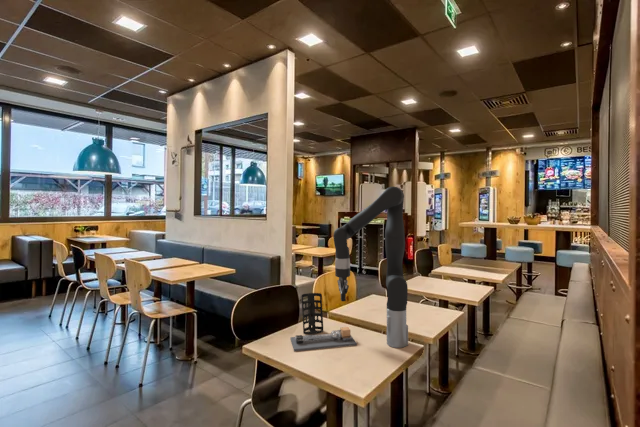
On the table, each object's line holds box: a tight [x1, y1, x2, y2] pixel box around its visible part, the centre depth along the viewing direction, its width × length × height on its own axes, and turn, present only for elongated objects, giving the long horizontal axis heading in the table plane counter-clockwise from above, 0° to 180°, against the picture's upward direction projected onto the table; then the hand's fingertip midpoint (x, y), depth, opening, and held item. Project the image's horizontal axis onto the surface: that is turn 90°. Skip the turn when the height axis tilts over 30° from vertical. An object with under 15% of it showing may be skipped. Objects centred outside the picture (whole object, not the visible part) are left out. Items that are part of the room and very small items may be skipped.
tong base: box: [296, 329, 354, 344], centre depth 167 cm, size 27×11×3 cm, turn 102°
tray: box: [290, 336, 358, 352], centre depth 166 cm, size 30×14×1 cm, turn 102°
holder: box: [301, 292, 324, 335], centre depth 179 cm, size 11×8×20 cm
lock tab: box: [339, 326, 351, 337], centre depth 168 cm, size 4×4×3 cm
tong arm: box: [294, 333, 333, 340], centre depth 165 cm, size 19×3×1 cm, turn 102°
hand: (343, 300), depth 171 cm, fingers closed
